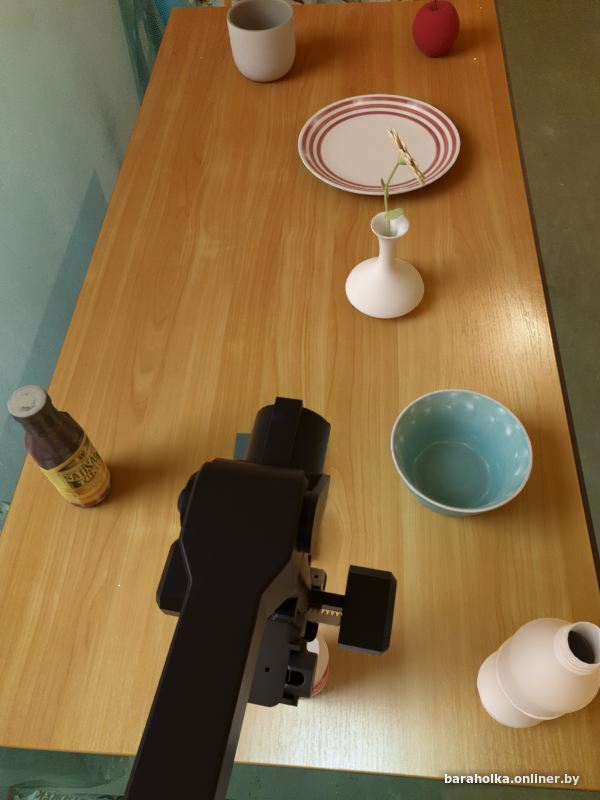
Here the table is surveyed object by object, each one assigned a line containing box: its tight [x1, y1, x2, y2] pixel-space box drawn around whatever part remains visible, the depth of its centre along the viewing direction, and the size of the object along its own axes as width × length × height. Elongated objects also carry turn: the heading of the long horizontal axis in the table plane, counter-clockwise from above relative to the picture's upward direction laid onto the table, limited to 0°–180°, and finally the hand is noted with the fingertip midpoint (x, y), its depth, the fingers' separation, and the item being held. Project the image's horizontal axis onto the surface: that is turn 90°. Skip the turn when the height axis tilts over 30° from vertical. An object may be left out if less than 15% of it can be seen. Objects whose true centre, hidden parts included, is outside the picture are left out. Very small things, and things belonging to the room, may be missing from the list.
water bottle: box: [476, 617, 600, 729], centre depth 55 cm, size 7×7×25 cm
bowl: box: [389, 388, 534, 518], centre depth 75 cm, size 16×16×8 cm
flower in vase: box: [345, 127, 426, 320], centre depth 84 cm, size 13×11×25 cm
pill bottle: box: [299, 630, 330, 700], centre depth 63 cm, size 6×6×11 cm
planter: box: [226, 0, 296, 83], centre depth 121 cm, size 12×12×11 cm
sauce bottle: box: [6, 384, 112, 509], centre depth 72 cm, size 6×6×20 cm
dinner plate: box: [297, 93, 461, 196], centre depth 109 cm, size 28×27×3 cm
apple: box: [411, 0, 461, 57], centre depth 122 cm, size 9×9×10 cm
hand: (284, 618), depth 58 cm, fingers closed
